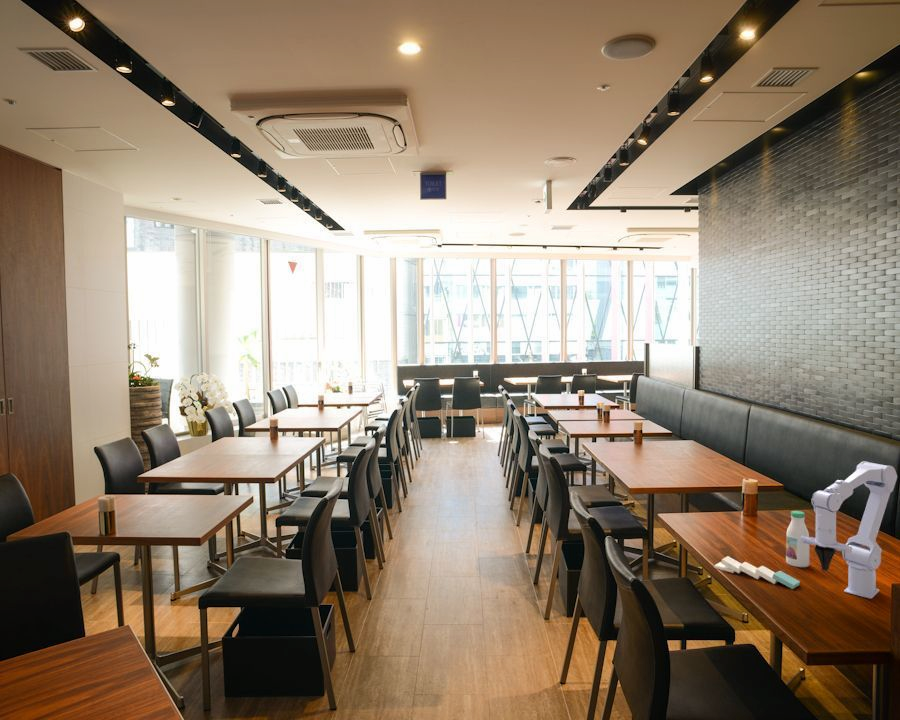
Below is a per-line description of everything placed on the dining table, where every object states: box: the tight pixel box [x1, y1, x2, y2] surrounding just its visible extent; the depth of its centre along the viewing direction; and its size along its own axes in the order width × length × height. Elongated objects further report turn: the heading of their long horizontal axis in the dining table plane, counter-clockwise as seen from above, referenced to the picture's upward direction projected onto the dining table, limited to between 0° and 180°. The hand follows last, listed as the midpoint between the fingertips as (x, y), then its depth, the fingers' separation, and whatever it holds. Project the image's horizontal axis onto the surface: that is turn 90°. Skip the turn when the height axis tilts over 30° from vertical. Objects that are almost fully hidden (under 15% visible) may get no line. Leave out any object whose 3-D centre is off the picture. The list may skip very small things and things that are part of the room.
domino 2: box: [720, 555, 743, 574], centre depth 229 cm, size 5×2×7 cm
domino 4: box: [755, 565, 780, 585], centre depth 220 cm, size 5×2×7 cm
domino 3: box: [739, 561, 762, 580], centre depth 224 cm, size 5×2×7 cm
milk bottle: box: [785, 510, 810, 568], centre depth 234 cm, size 8×8×20 cm
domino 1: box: [714, 561, 736, 574], centre depth 231 cm, size 5×2×7 cm
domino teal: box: [772, 570, 801, 590], centre depth 215 cm, size 5×2×7 cm
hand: (825, 569), depth 201 cm, fingers closed
